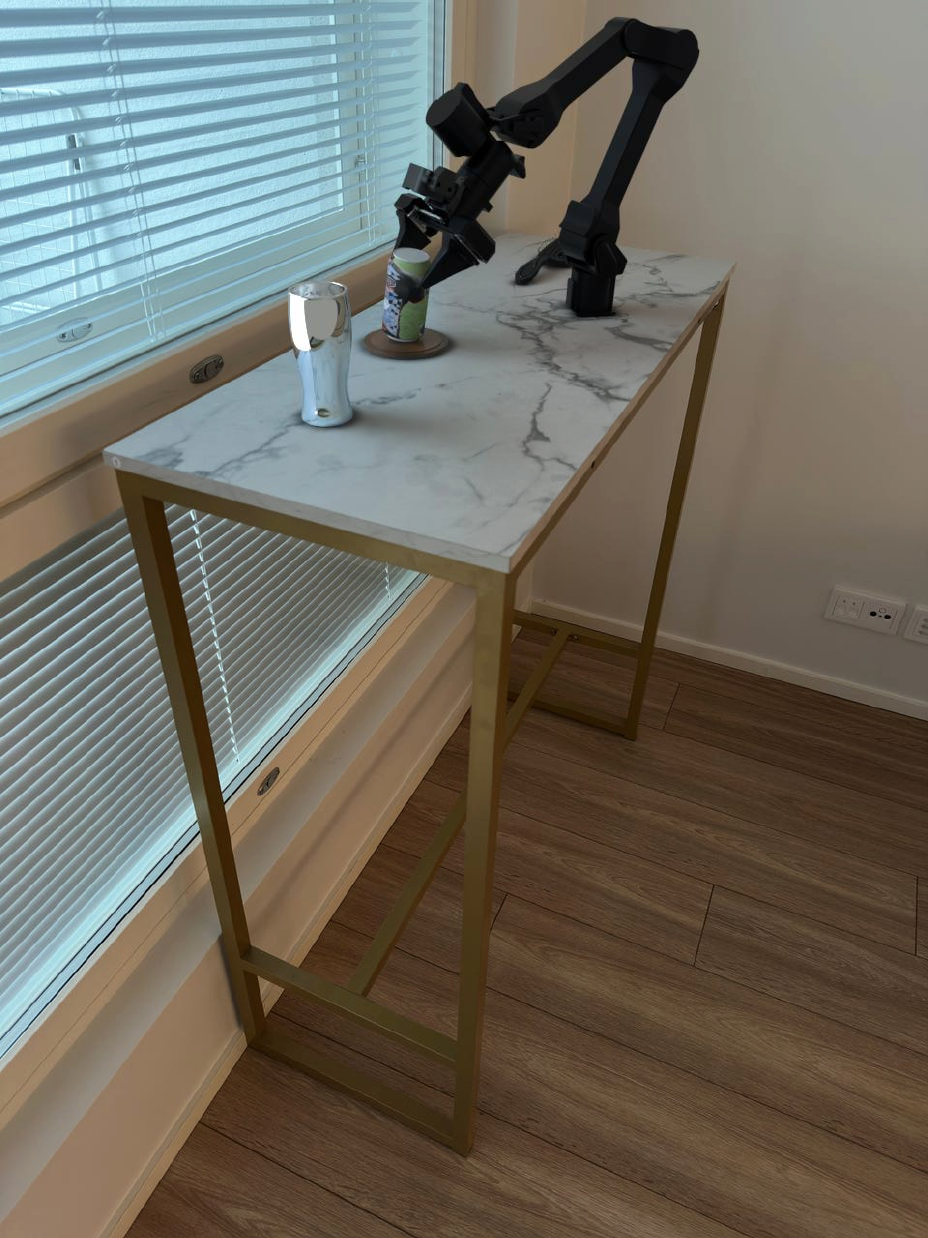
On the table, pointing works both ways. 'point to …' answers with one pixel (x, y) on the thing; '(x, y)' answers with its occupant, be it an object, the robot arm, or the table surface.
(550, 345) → the table surface
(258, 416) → the table surface
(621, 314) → the table surface
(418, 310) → the beverage can
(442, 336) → the coaster
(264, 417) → the table surface
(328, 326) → the beer glass
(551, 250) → the hairbrush
